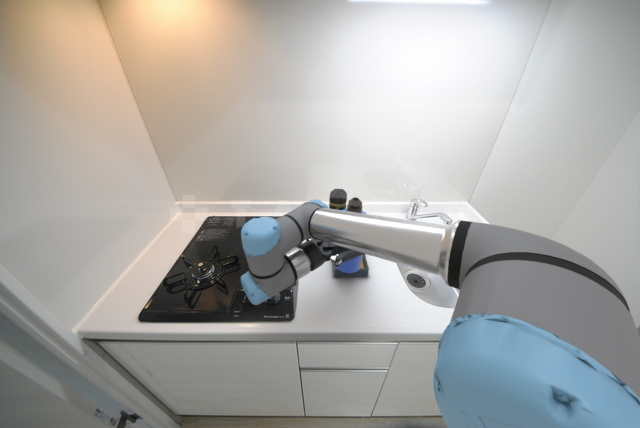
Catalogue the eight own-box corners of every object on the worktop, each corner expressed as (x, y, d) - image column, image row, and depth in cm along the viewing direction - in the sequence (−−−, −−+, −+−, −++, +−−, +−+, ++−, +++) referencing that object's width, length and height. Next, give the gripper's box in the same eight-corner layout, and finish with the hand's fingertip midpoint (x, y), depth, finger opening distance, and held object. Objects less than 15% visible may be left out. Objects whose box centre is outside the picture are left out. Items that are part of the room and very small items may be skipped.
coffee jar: (329, 219, 107) (330, 186, 96) (345, 220, 106) (347, 187, 96) (327, 230, 99) (328, 196, 89) (344, 232, 98) (347, 197, 88)
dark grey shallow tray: (367, 276, 77) (369, 269, 74) (334, 277, 76) (334, 269, 74) (357, 235, 96) (358, 228, 94) (331, 235, 96) (331, 228, 94)
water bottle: (359, 276, 66) (371, 210, 52) (331, 269, 68) (334, 204, 54) (363, 256, 73) (374, 193, 59) (337, 250, 76) (342, 189, 62)
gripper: (282, 247, 63) (337, 220, 75) (330, 296, 49) (387, 253, 61) (280, 228, 59) (338, 202, 71) (331, 275, 45) (393, 233, 57)
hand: (361, 225), depth 66 cm, fingers closed on water bottle, 9 cm apart
